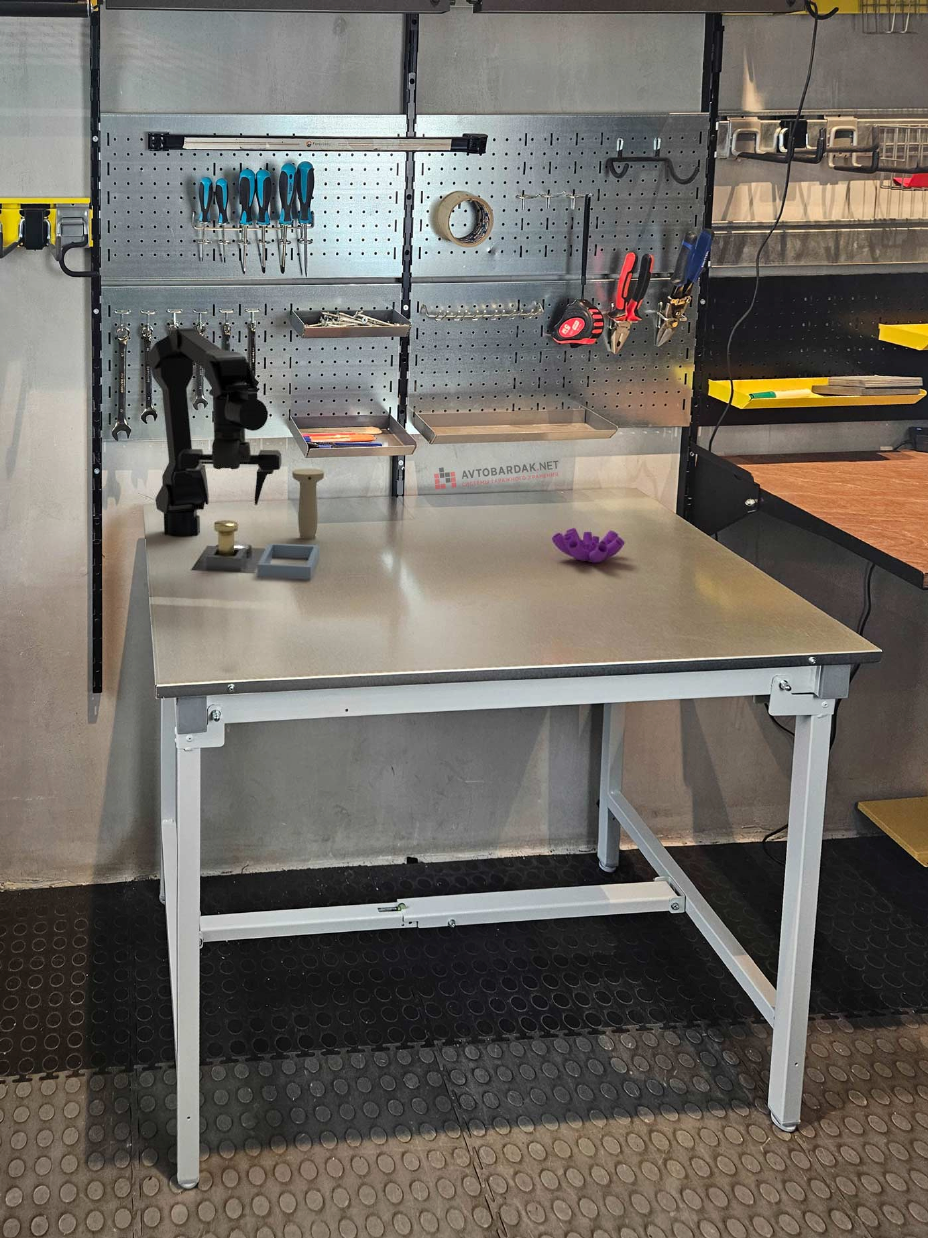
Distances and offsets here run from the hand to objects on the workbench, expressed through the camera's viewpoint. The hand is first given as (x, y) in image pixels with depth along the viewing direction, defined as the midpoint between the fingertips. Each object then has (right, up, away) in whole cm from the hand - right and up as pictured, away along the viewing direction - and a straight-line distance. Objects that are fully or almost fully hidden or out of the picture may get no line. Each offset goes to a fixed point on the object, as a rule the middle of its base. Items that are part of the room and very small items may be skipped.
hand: (231, 504), depth 248 cm
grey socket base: (-2, -11, +8) cm, 14 cm away
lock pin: (-2, -11, +4) cm, 12 cm away
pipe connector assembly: (+69, -10, +21) cm, 73 cm away
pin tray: (+10, -13, +5) cm, 17 cm away
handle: (+11, -6, +25) cm, 28 cm away
